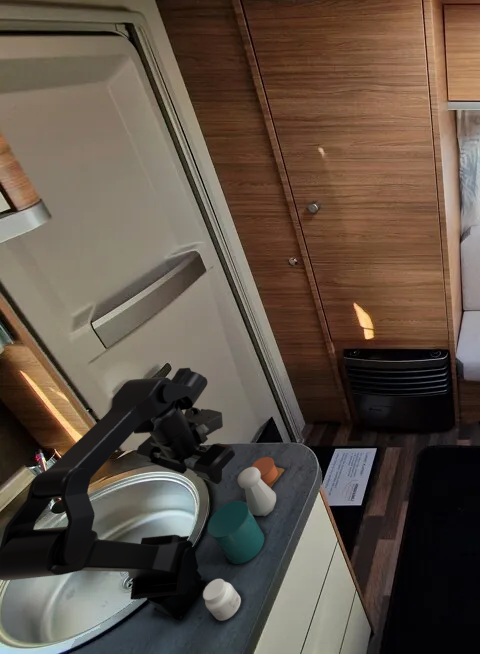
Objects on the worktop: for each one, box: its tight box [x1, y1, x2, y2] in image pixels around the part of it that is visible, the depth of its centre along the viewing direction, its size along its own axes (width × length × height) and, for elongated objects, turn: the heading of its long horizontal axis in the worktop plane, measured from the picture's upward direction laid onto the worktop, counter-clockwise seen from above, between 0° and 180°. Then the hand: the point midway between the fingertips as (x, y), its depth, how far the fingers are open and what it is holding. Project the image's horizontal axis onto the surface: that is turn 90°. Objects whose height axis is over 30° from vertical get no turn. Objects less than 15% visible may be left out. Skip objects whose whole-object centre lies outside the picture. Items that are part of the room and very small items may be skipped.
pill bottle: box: [202, 578, 242, 622], centre depth 78 cm, size 4×4×8 cm
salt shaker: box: [236, 466, 277, 517], centre depth 93 cm, size 6×6×13 cm
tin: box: [207, 500, 265, 565], centre depth 86 cm, size 7×7×11 cm
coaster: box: [267, 466, 285, 489], centre depth 102 cm, size 6×6×1 cm
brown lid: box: [250, 456, 277, 485], centre depth 101 cm, size 5×5×4 cm
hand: (201, 476), depth 89 cm, fingers open, 9 cm apart
